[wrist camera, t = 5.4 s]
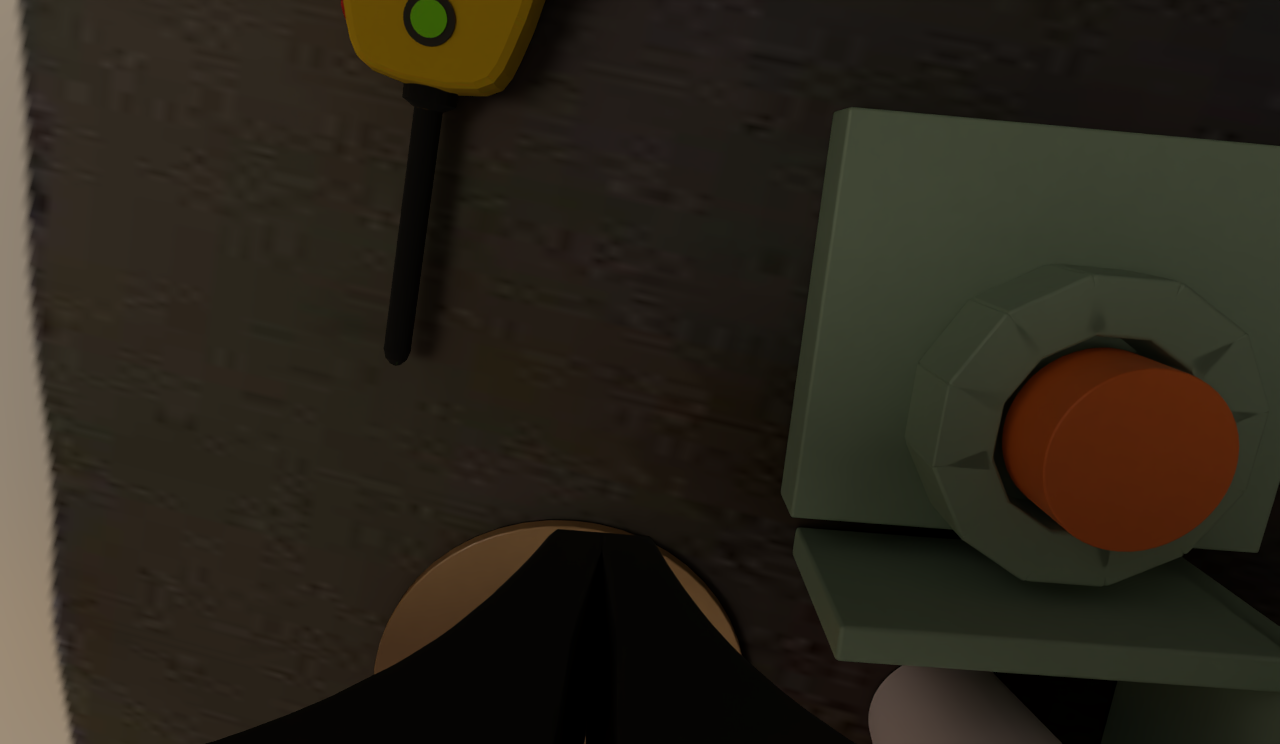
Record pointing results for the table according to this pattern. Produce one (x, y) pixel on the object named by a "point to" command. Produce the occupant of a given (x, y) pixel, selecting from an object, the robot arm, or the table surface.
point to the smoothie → (951, 710)
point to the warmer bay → (1055, 631)
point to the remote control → (433, 101)
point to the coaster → (483, 570)
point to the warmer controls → (1025, 318)
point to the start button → (1120, 448)
